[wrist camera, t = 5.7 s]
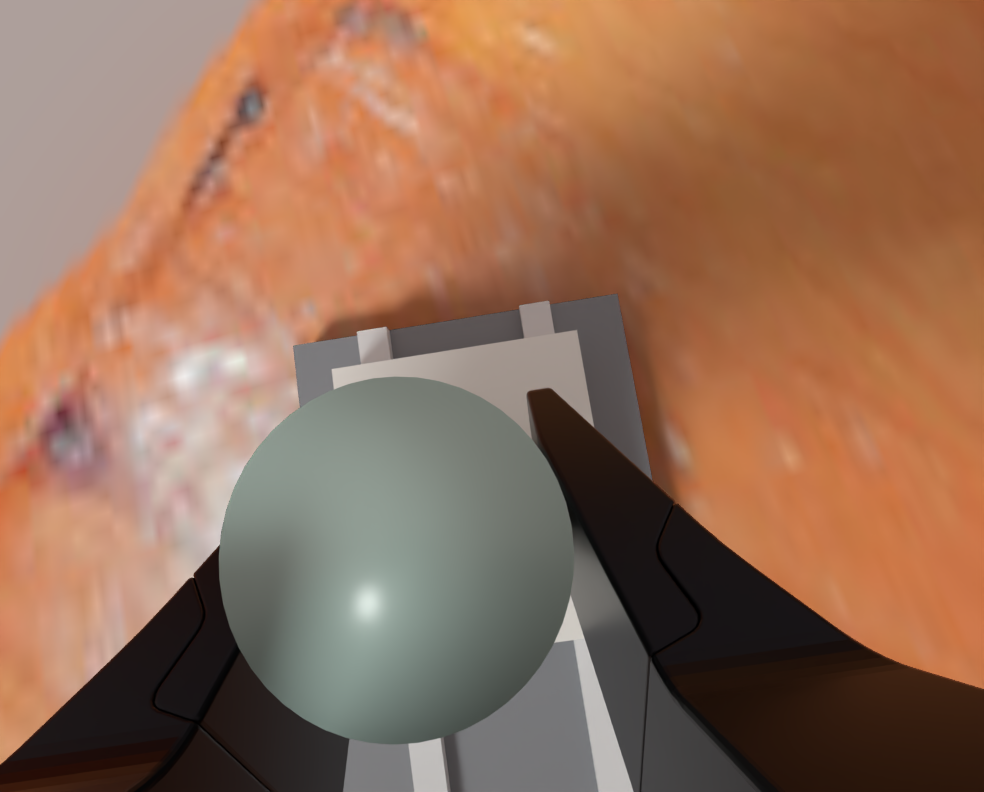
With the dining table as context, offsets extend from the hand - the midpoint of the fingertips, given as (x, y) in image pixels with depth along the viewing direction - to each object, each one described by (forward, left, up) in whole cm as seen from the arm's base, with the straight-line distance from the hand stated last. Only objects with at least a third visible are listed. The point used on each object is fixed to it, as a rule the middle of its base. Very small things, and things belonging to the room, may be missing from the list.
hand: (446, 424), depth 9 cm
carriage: (-1, -1, -5) cm, 5 cm away
